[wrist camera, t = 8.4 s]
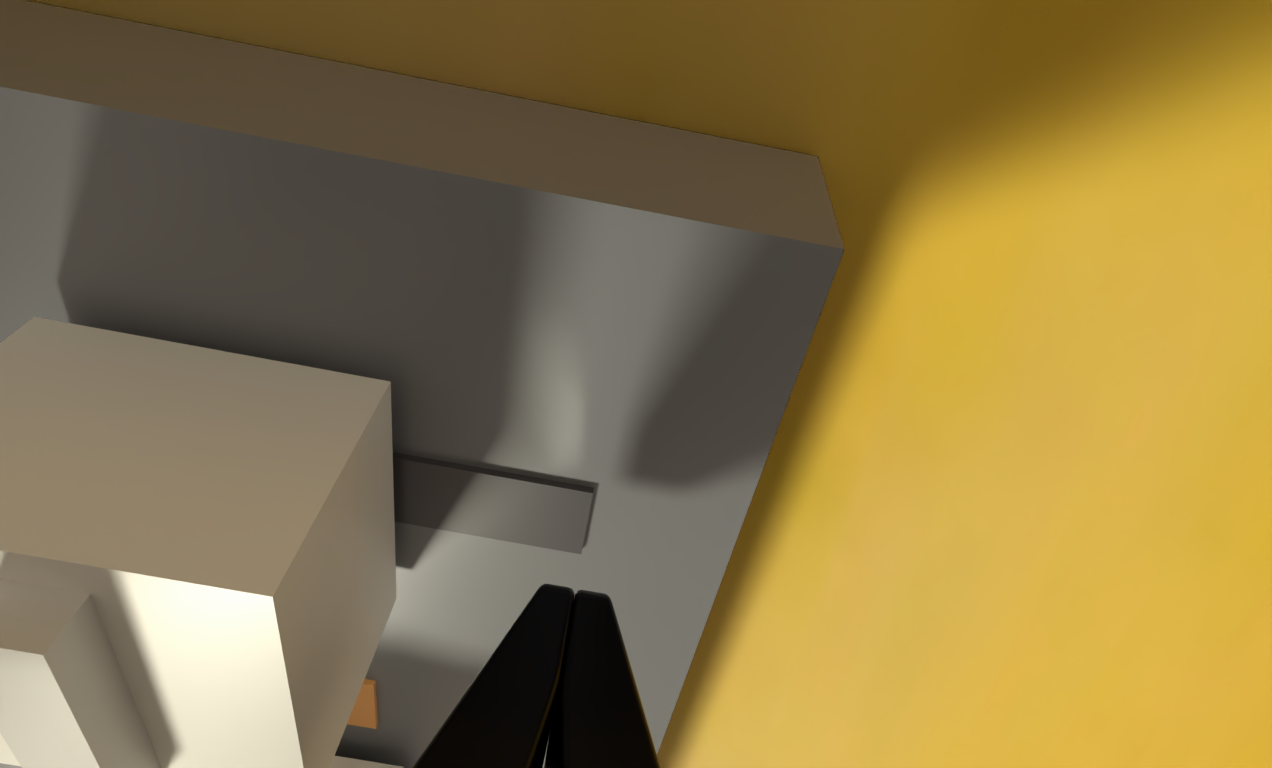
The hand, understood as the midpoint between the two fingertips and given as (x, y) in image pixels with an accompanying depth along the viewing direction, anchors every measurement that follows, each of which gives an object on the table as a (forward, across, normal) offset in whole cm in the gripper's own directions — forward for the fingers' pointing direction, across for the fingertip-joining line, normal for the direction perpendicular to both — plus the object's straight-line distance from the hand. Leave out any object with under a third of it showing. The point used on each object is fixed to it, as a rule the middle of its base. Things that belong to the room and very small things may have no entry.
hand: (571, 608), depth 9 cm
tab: (+1, +4, 0) cm, 5 cm away
